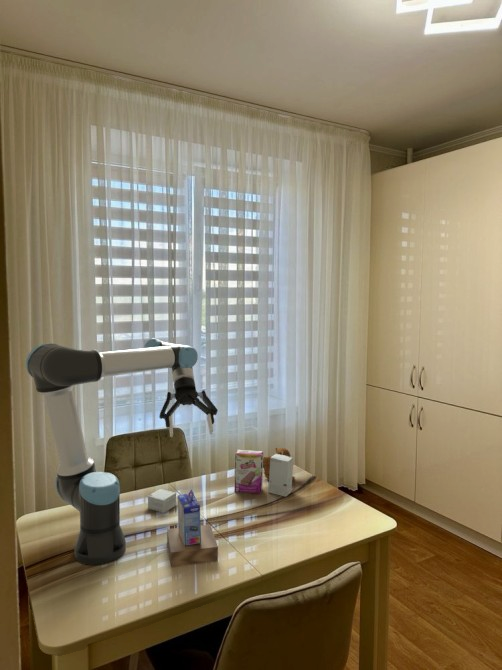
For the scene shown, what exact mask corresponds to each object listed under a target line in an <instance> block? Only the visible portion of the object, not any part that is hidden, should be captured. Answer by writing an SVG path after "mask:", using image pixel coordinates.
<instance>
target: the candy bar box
mask: <svg viewBox="0 0 502 670" xmlns="http://www.w3.org/2000/svg"><path fill="white" fill-rule="evenodd" d="M234 458H235V460H234V462H235V465H234V492H235V493H245V494H246V493H248V494H260V495H261V494H262V491H263V476H264V475H263V474H264V468H263V458H264V451H262V450H249V449H236V451H235V457H234Z"/></svg>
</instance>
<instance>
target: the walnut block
mask: <svg viewBox="0 0 502 670" xmlns="http://www.w3.org/2000/svg"><path fill="white" fill-rule="evenodd" d="M200 526H201V543H199V544H193V545H187V546H184V543H183V541H182V539H181V536H180V534H179V530H178V527H176V528H175V527H174V528H168V529H166V530H167V531H166V541H167V542H166V544H167V551H168V556H169V557H168V558H169V563H170V567H171V568H173V567H174V568H175V567H182V566H190V565H197V564H198V565H199V564H205V563H206V564H207V563H215V562H218V561H219V546H218V543H217V540H216V538H215V534H214V531H213V528H212V526H211V524H204V525H202V524H200Z"/></svg>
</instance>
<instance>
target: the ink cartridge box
mask: <svg viewBox="0 0 502 670" xmlns="http://www.w3.org/2000/svg"><path fill="white" fill-rule="evenodd" d="M176 499H177V522H178V523H177V528H178V530H179V534H180V536H181V539H182V541H183V543H184V546H187V545H193V544H199V543H201V507H200V506H201V504H200V503H199V501H198V499H197V498H196V496H195V493H194V492H193V489H190V491H189V492H188V493H182V494H178V495H176Z"/></svg>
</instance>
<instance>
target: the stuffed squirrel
mask: <svg viewBox="0 0 502 670" xmlns="http://www.w3.org/2000/svg"><path fill="white" fill-rule="evenodd" d="M275 452H276V453H275V454H279V455H285V456H288V457H292V456H291V453H290V451H289V450H288V449H287V448H283V447H280V448H278V447H275ZM272 456H273V455H272ZM272 456H263V474H264V477H265V478H266V479H267V480H268V481H269V472H270V457H272ZM293 466H294V463H293ZM295 480H296V478H295V477H294V476H293V475H292V482H295Z"/></svg>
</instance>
